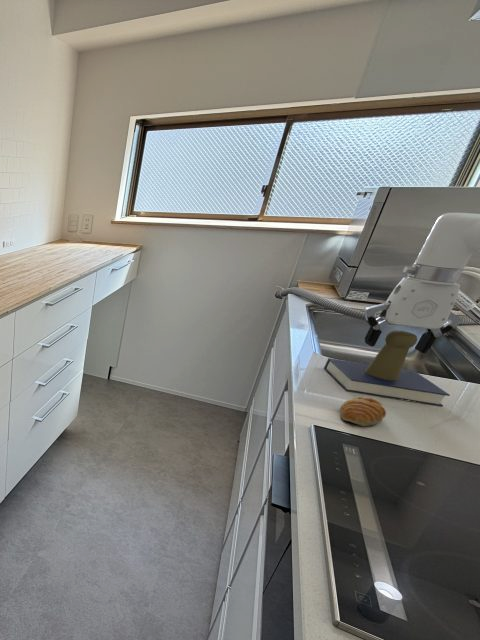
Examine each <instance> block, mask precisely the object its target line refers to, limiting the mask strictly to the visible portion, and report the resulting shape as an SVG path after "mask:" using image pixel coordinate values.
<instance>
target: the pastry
mask: <svg viewBox="0 0 480 640" xmlns="http://www.w3.org/2000/svg"><path fill="white" fill-rule="evenodd" d="M386 414H387V411H386V409H385V407H384V406H383V404H382V402H380V401H378V400H377V399H374V398H371V397H362V396H358V397H353V398H352V399H348V400H346V401H344V403H343V404H341V406H340V418H342V420H343V421H346V422H350V423H353V424H356V425H358V426H362V427H367V426H370V427H372V426H375V425H376V424H378V423H380V422H381V421H383V419H384V418H385V417H386Z"/></svg>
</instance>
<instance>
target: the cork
mask: <svg viewBox="0 0 480 640" xmlns="http://www.w3.org/2000/svg"><path fill="white" fill-rule="evenodd" d="M384 341H385V343H384V344H383V346H382V347H381V349H380V350H379V351H378V352H377V354H376V355H375V357H374V358H373V359H372V361H371V362H370V363H369V364H370V365H369V366H368V367H367V369H366V370H365V372H366V373H368V374H369V375H372V376H374V377H377V378H381V379H386V380H398V378H399V375H400V372H401V369H403V366H404V364H405V361H406V358H407V356H408V352H409V350H410V348H413V347H414V346H416V345H417V343H418V336H417V335H416V334H415V333H413V332H410V331H406V330H398V329H396V330H391V331H389V332H388V333H386V335H385V338H384Z"/></svg>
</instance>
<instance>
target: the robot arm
mask: <svg viewBox="0 0 480 640" xmlns="http://www.w3.org/2000/svg"><path fill="white" fill-rule="evenodd" d="M474 252H478V253H480V213H471V212H470V213H469V212H446V213H443V214H441V215H440V216H439V217H438V218H437V219H436V221H435V223H434V224H433V226H432V228H431V231H430V232H429V234H428V236H427V238H426V240H425V242H424V244H423V245H422V248H421V249H420V251H419V254H418V255H417V257H416V259H415V261H414V263H412V265H411V266H405V267H403V269H402V273H404V274H407V277H402V279H400V281H399V282H398V283H397V284H396V286H395V287H394V288H393V290H392V291H391V293H390V294H389V296H388V297H387V299H386V301H385V302H382V303H380V304H374V305H371V306H366V307H365V308H364V309H363V313H364V320H365V321H366V323H367V325H368V326H369V329H368V331H367V332H366V334H365V337H364V344H366V345H368V346H369V347H375V346H376V344H377V342H378V340H379V339H380V336H381V334H382V330H381V329H382V328H385V327H386V326H388V325H393V326H402V327H409V328H419V329H425V331H426V332H423V333H422V334H421V336H420V338H419V339H418V340H417V342H416V344H415V345H414V346H415V347H414V349H415V350H417V351H418V352H420V353H421V354H427V352H428V350H430V349H431V348H432V346H433V344H434V343H435V341H436V339H437V338H440V337H442V335H444V334H446V333H448V332H451V331H453V330H454V328H456V327H457V326H458V325H460V324H461V323H463V321H464V319H463V318H461V317H460V316H458V315H457V314H455V313H454V312H452V311H453V308H454V307H455V304H456V302H457V298H458V296H459V293H460V287H461V284H460V283H457V282H458V280H459V278H460V277H461V274H462V273H463V271H464V270H465V268H466V266H467V264H468V262H469V261H470V259H471V257H472V256H473V254H474ZM376 313H379V317H377V318H375V314H376Z"/></svg>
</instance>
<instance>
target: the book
mask: <svg viewBox="0 0 480 640" xmlns="http://www.w3.org/2000/svg"><path fill="white" fill-rule="evenodd" d="M325 362H326V363H325V365H324V366H323V369H324V370H325V371H326V372H327V373H328V374H329V375H330V376H331V378H333V379H334V380H335V382H337V383H338V385H339V386H341V387H342V389H344V390H345V391H346V392H349V393H350V392H351V393H357V394H362V395H368V396H375V397H381V398H387V397H388V398H387V399H393V398H395V399H394V400H399V399H403V400H402V401H406V400H410V401H409V402H412V401H416V402H415V403H418V402H420V403H419V404H425V405H430V406H431V405H432V406H437V407H444V405H443V403H441V402H442V401H443V399H444V397H445V396H447V397H450V396H451V394H450V393H448V392H446V391H445V390H444V389H442V388H440V387H439V386H438V385H436V384H435V383H433V382H432V381H430V380H429V379H427V378H426V377H424V376H423V375H422V374H420V373H418V372H417V371H416V370H413V369H406V368H402V369H401V372H400V375H399V378H398V380H386V379H381V378H377V377H374V376H372V375H369V374H368V373H366V372H365V370H366V369H367V367H368V366H369V365H370V363H364V362H359V361H351V360H345V359H338V358H330V357H328V358H327V361H325Z"/></svg>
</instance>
